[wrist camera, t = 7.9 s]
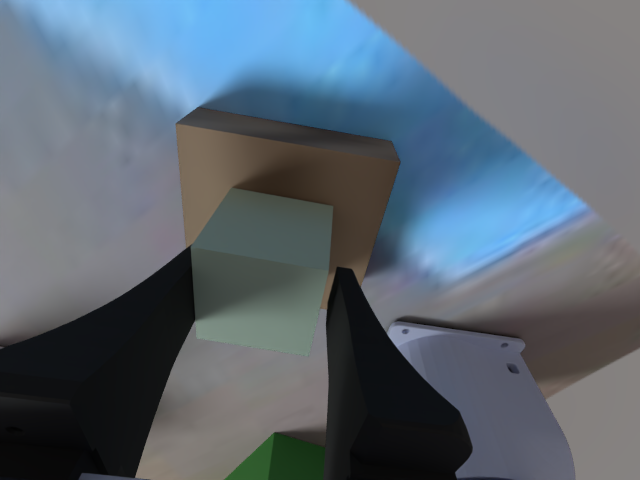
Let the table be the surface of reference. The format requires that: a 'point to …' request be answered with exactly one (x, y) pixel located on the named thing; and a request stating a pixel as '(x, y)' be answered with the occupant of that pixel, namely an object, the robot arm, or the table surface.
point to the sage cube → (262, 271)
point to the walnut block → (288, 176)
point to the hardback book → (282, 461)
